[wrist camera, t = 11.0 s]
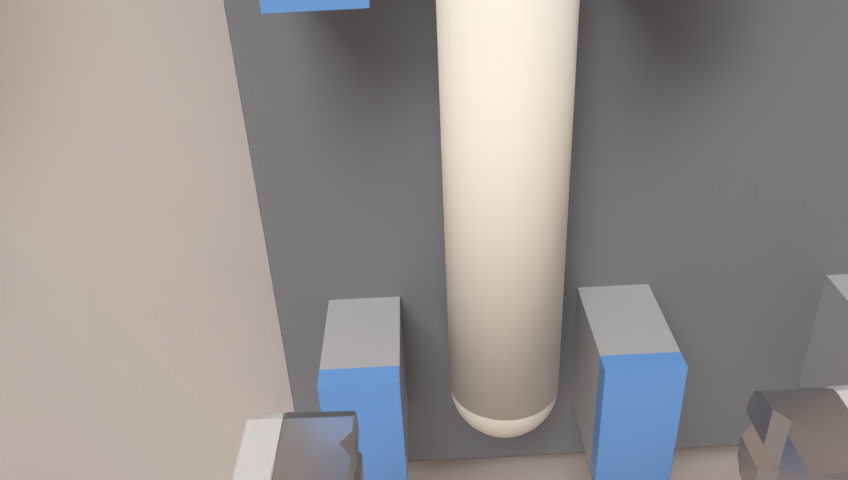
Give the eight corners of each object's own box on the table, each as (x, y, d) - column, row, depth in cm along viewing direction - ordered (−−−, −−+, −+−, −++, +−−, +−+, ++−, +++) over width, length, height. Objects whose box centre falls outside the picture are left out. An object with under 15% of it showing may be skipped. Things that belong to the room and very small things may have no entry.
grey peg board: (1528, -459, 15) (2110, -575, 10) (1085, 405, 26) (1250, 560, 21) (169, -387, 15) (48, -466, 10) (307, 443, 26) (284, 607, 21)
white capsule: (415, -216, 16) (445, -214, 13) (561, -224, 16) (617, -224, 14) (442, 395, 24) (463, 469, 21) (538, 380, 24) (570, 451, 22)
